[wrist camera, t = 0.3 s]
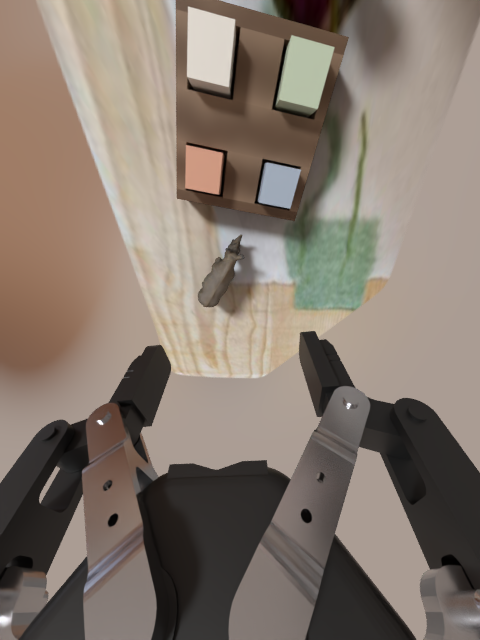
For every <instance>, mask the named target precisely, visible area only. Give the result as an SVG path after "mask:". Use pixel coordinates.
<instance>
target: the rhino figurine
mask: <svg viewBox="0 0 480 640" xmlns="http://www.w3.org/2000/svg"><path fill="white" fill-rule="evenodd" d="M241 238H242V235H240V236H239V237H237V238H236V239H235V240H232V242H231V244H230V245H229V246H228V248H226V252H225V257H224V259H223V260H222V259H221V258H220V257H218V258H217V259H216V260H215V263H214V264H213V265H212V271H211V273H209V274H208V275H207V276H206V278H205V279H204V282H202V286H203V288H202V289H201V290H200V291H199V293H198V300H199V302H200V303H201V304H202V305H203V306H204V307H214V306H216V305H217V304H218V302H219V299H220V297H221V296H222V295H223V294H224V293H225V292H226V291H227V289H228V286H229V283H230V282H231V281H232V279H233V278H234V275H235V274H234V266H235V263H236V261H237V260H239V259H244V258H245V257H244V256H243V255H242V254H240V255H238V254H239V252H240V249H239V247H240V241H241Z"/></svg>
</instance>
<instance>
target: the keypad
mask: <svg viewBox="0 0 480 640" xmlns="http://www.w3.org/2000/svg"><path fill="white" fill-rule="evenodd" d="M188 7H192V8H196V9H199V10H203V11H206V12H210V13H214V14H217V15H221V16H224V17H228V18H232V19H235V26H236V50H235V60H234V70H233V80H232V90H231V100H230V99H226V98H222V97H217V96H213V95H209V94H205V93H201V92H197V91H194V89H193V87H192V85H191V83H190V82H189V80H188V78H187V39H188ZM292 35H293V36H296V37H300V38H304V39H307V40H311V41H314V42H318V43H322V44H325V45H329V46H332V47H335V48H334V51H333V55H332V59H331V62H330V66H329V70H328V73H327V77H326V81H325V84H324V88H323V91H322V95H321V99H320V102H319V106H318V109H317V110H316V111H315V112H314V113H313V114H311V115H310V116H309V117H308V118H305V117H300V116H296V115H292V114H288V113H284V112H280V111H276V110H274V106H275V101H276V96H277V91H278V85H279V80H280V75H281V69H282V64H283V59H284V55H285V52H286V49H287V47H288V44H289V41H290V38H291V36H292ZM348 38H349V37H346V36H342V35H339V34H335V33H332V32H328V31H325V30H321V29H318V28H314V27H311V26H307V25H304V24H300V23H297V22H293V21H290V20H286V19H282V18H279V17H275V16H272V15H268V14H265V13H261V12H258V11H254V10H251V9H247V8H244V7H240V6H237V5H233V4H230V3H226V2H223V1H219V0H176V126H177V199H182V200H187V201H193V202H198V203H203V204H208V205H213V206H219V207H224V208H229V209H234V210H240V211H245V212H250V213H255V214H261V215H266V216H271V217H276V218H281V219H287V220H292V221H295V218H296V215H297V211H298V208H299V204H300V201H301V198H302V194H303V191H304V187H305V184H306V181H307V177H308V174H309V170H310V167H311V164H312V160H313V157H314V153H315V150H316V147H317V143H318V140H319V136H320V133H321V130H322V126H323V123H324V119H325V116H326V113H327V109H328V106H329V102H330V99H331V96H332V92H333V89H334V85H335V82H336V79H337V75H338V72H339V68H340V65H341V62H342V58H343V55H344V51H345V48H346V45H347V41H348ZM186 145H188V146H193V147H198V148H202V149H207V150H212V151H216V152H221V153H223V154H224V155H225V160H224V170H223V180H222V190H221V193H220V194H219V195H218V194H213V193H207V192H202V191H197V190H192V189H187V188H185V174H186ZM265 163H272V164H276V165H281V166H286V167H290V168H295V169H300V170H301V172H300V175H299V179H298V183H297V186H296V190H295V193H294V197H293V201H292V204H291V208H290V209H289V208H284V207H279V206H274V205H268V204H263V203H259V202H258V200H257V197H258V191H259V186H260V181H261V176H262V170H263V165H264V164H265Z"/></svg>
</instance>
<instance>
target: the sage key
mask: <svg viewBox="0 0 480 640" xmlns="http://www.w3.org/2000/svg"><path fill="white" fill-rule="evenodd" d="M334 48H335V47H332V46H329V45H325V44H322V43H318V42H314V41H311V40H307V39H304V38H300V37H296V36H293V35H292V36H291V38H290V41H289V44H288V47H287V49H286V52H285V55H284V59H283V64H282V69H281V75H280V80H279V85H278V91H277V96H276V101H275V106H274V110H276V111H280V112H284V113H288V114H292V115H296V116H300V117H305V118H308V117H309V116H310V115H311V114H313V113H314V112H315V111H316V110H317V109H318V106H319V102H320V99H321V95H322V91H323V88H324V84H325V81H326V77H327V73H328V70H329V66H330V62H331V59H332V55H333V51H334Z"/></svg>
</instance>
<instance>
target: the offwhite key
mask: <svg viewBox="0 0 480 640" xmlns="http://www.w3.org/2000/svg"><path fill="white" fill-rule="evenodd" d="M235 50H236V26H235V19H232V18H228V17H224V16H221V15H217V14H214V13H210V12H206V11H203V10H199V9H196V8H192V7H188V39H187V78H188V80H189V82H190V83H191V85H192V87H193V89H194V91H197V92H201V93H205V94H209V95H213V96H217V97H222V98H226V99H230V100H231V90H232V80H233V70H234V60H235Z"/></svg>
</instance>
